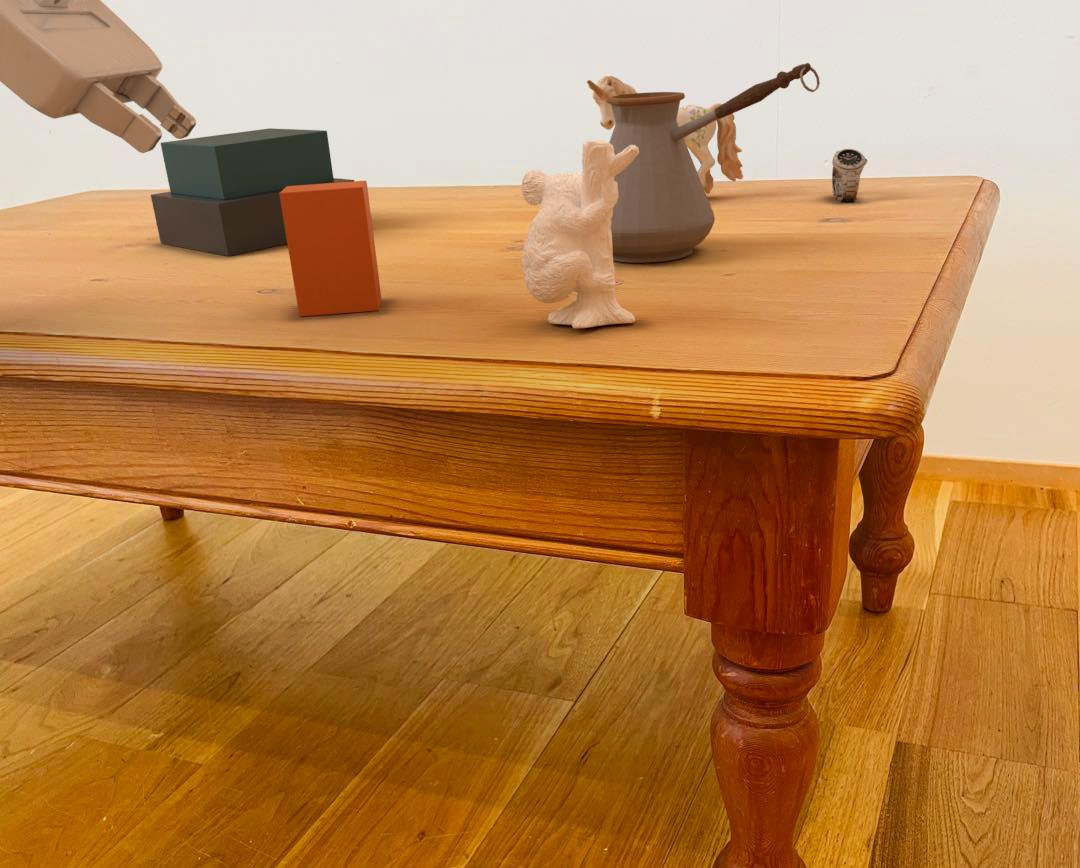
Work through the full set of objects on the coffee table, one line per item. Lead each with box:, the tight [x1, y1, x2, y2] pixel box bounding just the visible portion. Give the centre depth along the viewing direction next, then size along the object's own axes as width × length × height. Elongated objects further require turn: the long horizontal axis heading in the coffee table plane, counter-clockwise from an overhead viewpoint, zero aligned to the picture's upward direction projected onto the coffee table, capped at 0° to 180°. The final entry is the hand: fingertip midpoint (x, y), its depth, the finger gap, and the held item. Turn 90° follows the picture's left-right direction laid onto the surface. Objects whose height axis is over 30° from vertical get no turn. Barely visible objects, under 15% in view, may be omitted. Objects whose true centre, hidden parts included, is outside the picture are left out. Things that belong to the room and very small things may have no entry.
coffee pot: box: [607, 62, 821, 263], centre depth 87 cm, size 21×12×15 cm, turn 47°
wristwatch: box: [831, 148, 868, 203], centre depth 112 cm, size 4×6×5 cm, turn 178°
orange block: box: [279, 180, 382, 317], centre depth 81 cm, size 6×4×9 cm, turn 94°
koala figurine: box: [520, 139, 639, 329], centre depth 71 cm, size 8×7×12 cm
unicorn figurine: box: [586, 75, 744, 195], centre depth 114 cm, size 7×20×13 cm, turn 117°
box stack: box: [150, 127, 355, 257], centre depth 112 cm, size 16×14×10 cm
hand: (173, 137), depth 76 cm, fingers open, 8 cm apart
